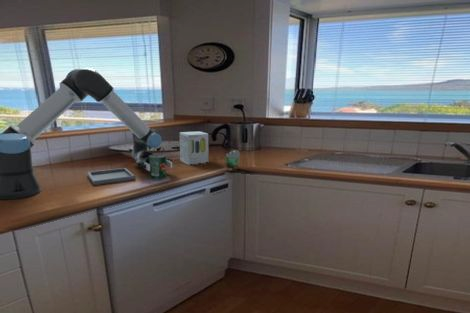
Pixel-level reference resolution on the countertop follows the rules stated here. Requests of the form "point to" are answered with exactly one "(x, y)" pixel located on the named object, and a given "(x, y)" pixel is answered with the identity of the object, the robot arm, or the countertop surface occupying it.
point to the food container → (232, 160)
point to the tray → (110, 176)
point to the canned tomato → (157, 166)
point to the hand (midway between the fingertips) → (160, 166)
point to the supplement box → (193, 147)
